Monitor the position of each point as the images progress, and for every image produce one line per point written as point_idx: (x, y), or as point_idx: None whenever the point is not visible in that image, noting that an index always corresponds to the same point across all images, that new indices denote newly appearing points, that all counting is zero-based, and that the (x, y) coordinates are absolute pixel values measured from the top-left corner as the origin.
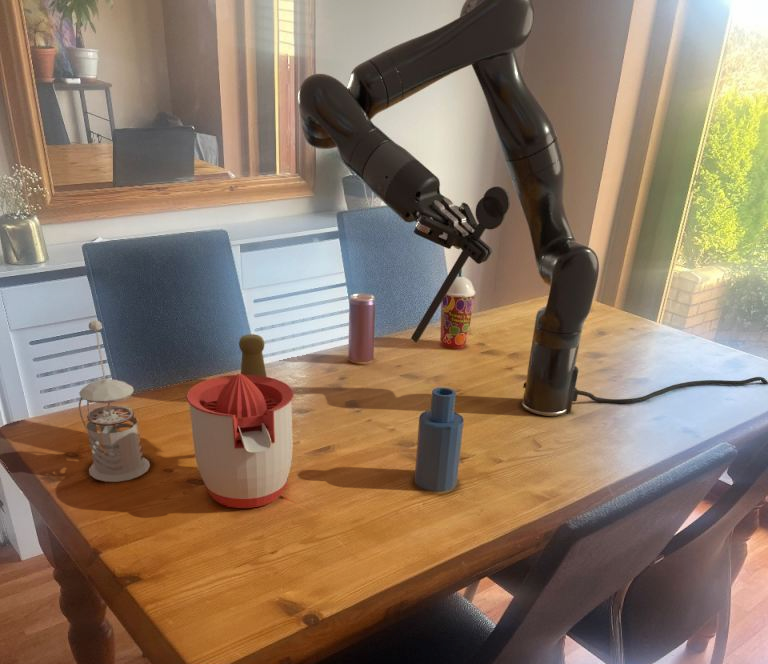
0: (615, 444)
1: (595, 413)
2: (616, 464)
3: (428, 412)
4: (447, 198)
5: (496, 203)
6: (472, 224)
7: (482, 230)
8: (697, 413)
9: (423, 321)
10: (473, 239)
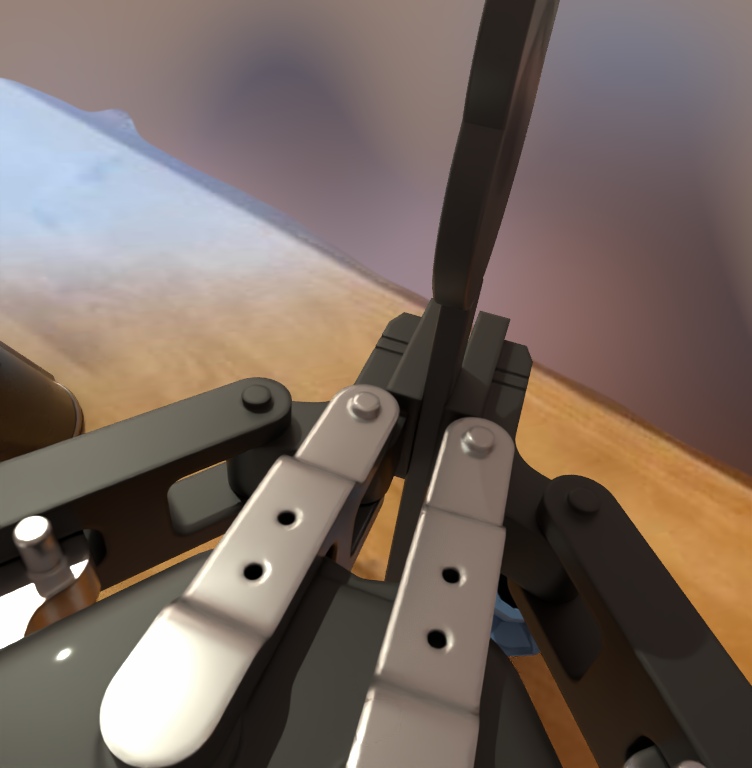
0: (188, 280)
1: (43, 327)
2: (276, 272)
3: (490, 635)
4: (106, 705)
5: (544, 34)
6: (269, 414)
7: (478, 295)
8: (9, 161)
9: None
10: (476, 385)
